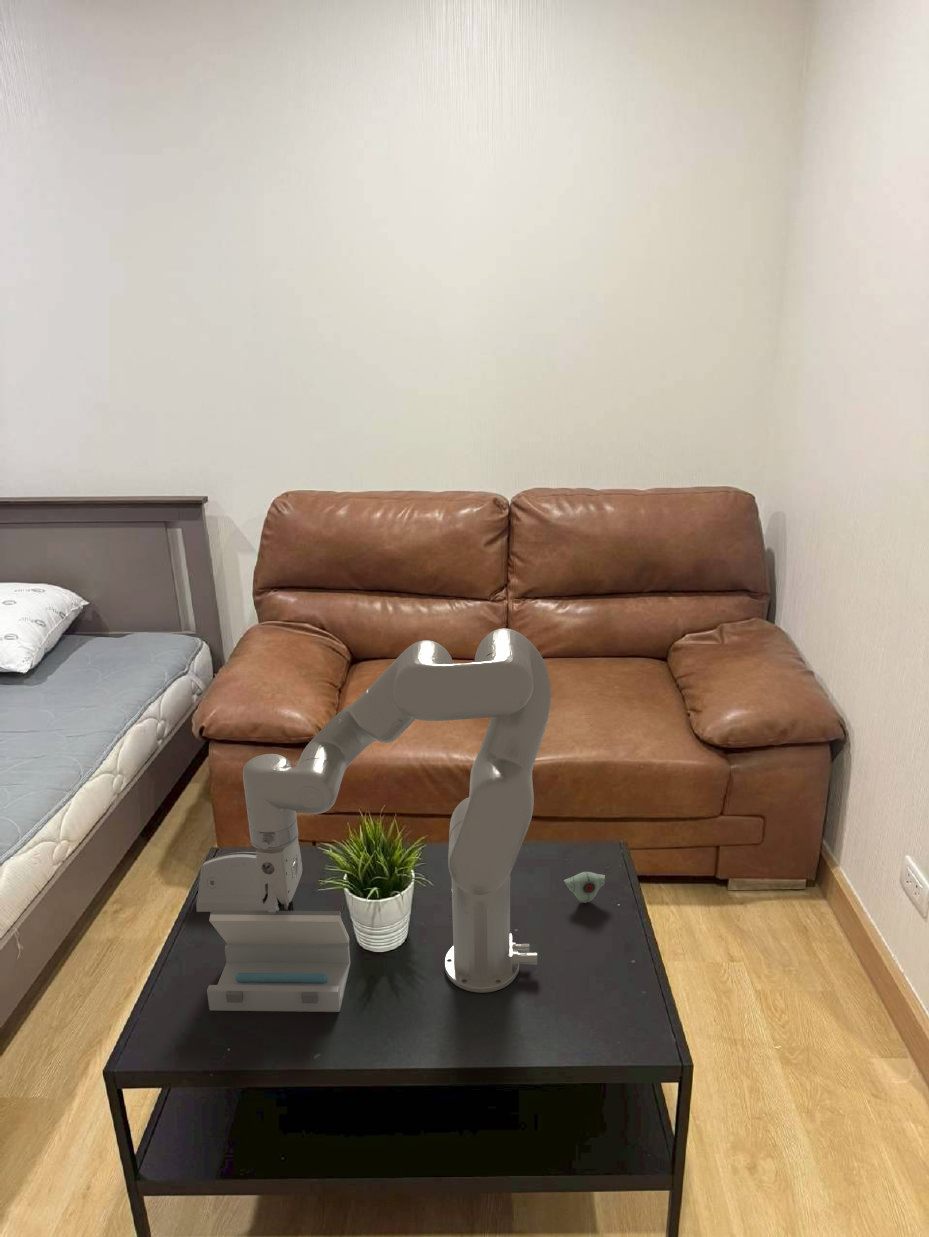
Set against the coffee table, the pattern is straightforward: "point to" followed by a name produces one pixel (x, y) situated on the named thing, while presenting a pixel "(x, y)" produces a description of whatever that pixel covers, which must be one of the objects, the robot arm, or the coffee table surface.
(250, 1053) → the coffee table surface
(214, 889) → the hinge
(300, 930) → the cover
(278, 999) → the grey hinged box
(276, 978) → the teal rod
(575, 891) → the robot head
